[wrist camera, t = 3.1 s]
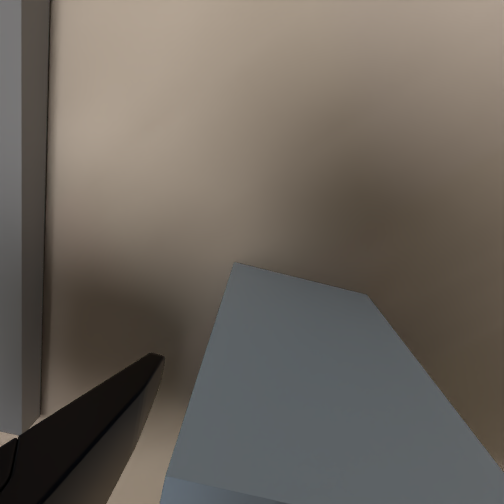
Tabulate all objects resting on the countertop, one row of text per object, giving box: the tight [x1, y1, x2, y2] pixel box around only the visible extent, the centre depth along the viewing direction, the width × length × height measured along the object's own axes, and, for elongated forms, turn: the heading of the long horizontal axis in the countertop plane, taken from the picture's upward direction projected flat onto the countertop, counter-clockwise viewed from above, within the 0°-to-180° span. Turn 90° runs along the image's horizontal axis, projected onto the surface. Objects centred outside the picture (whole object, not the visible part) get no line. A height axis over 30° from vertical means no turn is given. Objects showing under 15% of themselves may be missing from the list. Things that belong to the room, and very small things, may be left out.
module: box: [160, 262, 504, 504], centre depth 6 cm, size 6×4×6 cm, turn 166°
